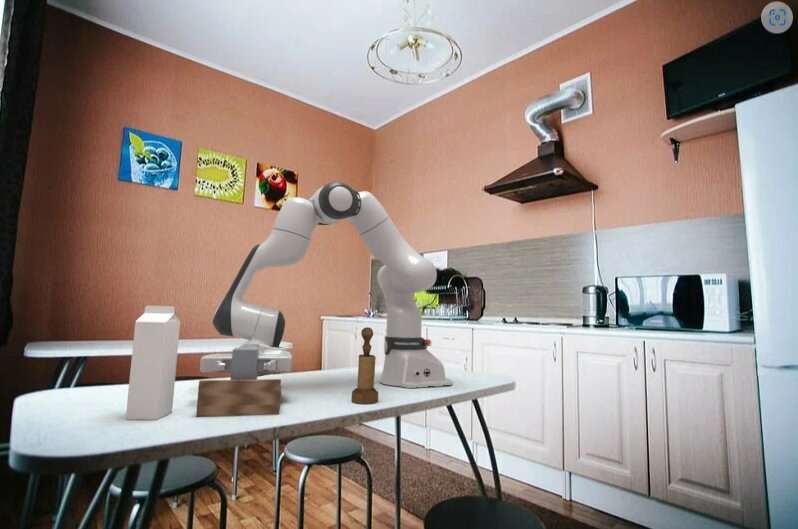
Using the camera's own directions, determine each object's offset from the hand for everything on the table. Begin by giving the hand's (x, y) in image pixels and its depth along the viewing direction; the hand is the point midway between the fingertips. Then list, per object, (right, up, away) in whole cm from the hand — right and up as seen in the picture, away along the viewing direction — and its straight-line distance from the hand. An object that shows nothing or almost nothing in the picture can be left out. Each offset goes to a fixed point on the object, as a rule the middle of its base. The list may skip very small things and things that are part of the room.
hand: (244, 367), depth 89 cm
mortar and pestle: (+26, -11, +11) cm, 30 cm away
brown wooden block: (-1, -9, +2) cm, 10 cm away
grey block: (0, -7, 0) cm, 7 cm away
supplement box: (+25, -12, +21) cm, 35 cm away
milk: (-16, -8, -8) cm, 20 cm away
